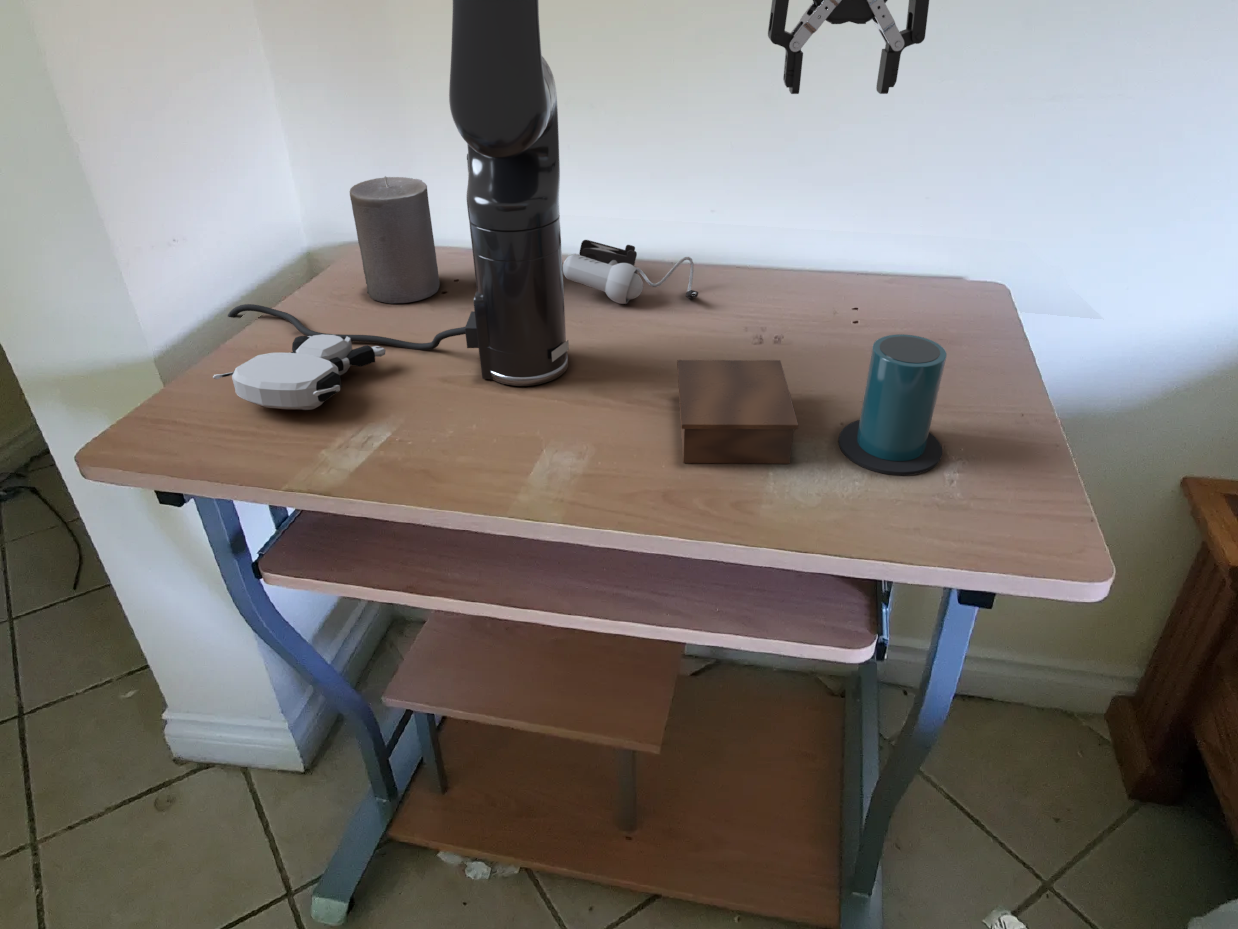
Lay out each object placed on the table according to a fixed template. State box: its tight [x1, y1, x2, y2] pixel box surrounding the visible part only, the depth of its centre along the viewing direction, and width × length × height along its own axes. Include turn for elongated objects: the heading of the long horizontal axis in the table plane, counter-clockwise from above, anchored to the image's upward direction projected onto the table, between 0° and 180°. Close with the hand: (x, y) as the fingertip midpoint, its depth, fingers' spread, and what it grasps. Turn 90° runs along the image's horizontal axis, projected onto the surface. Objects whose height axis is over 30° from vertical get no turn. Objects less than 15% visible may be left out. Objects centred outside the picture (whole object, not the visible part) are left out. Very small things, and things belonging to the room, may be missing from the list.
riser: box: [676, 359, 799, 465], centre depth 84 cm, size 11×13×4 cm
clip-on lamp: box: [562, 239, 699, 305], centre depth 113 cm, size 12×6×18 cm
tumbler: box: [857, 333, 948, 461], centre depth 80 cm, size 6×6×10 cm
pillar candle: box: [349, 175, 441, 304], centre depth 111 cm, size 10×10×15 cm
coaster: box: [838, 419, 943, 476], centre depth 83 cm, size 10×10×1 cm
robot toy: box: [212, 334, 386, 411], centre depth 92 cm, size 12×4×15 cm
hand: (838, 92), depth 84 cm, fingers open, 8 cm apart
